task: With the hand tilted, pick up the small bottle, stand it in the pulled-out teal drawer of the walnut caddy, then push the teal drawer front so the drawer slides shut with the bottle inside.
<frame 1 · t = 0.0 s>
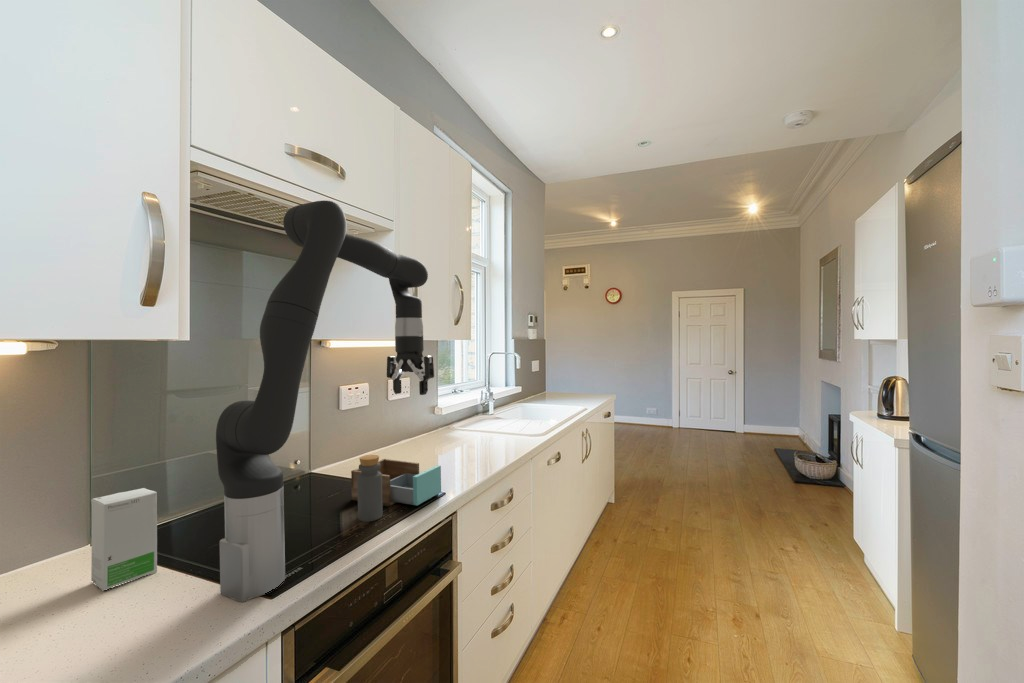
hand: (410, 394, 120), 29 cm above the counter, tool pointing down, fingers open, 8 cm apart
lid: (387, 479, 140), on the counter
housing: (386, 494, 125), on the counter
bottle: (370, 517, 109), on the counter
teal drawer: (411, 482, 121), point 5 cm above the counter, slide at 8.0 cm
skincare box: (125, 578, 83), on the counter
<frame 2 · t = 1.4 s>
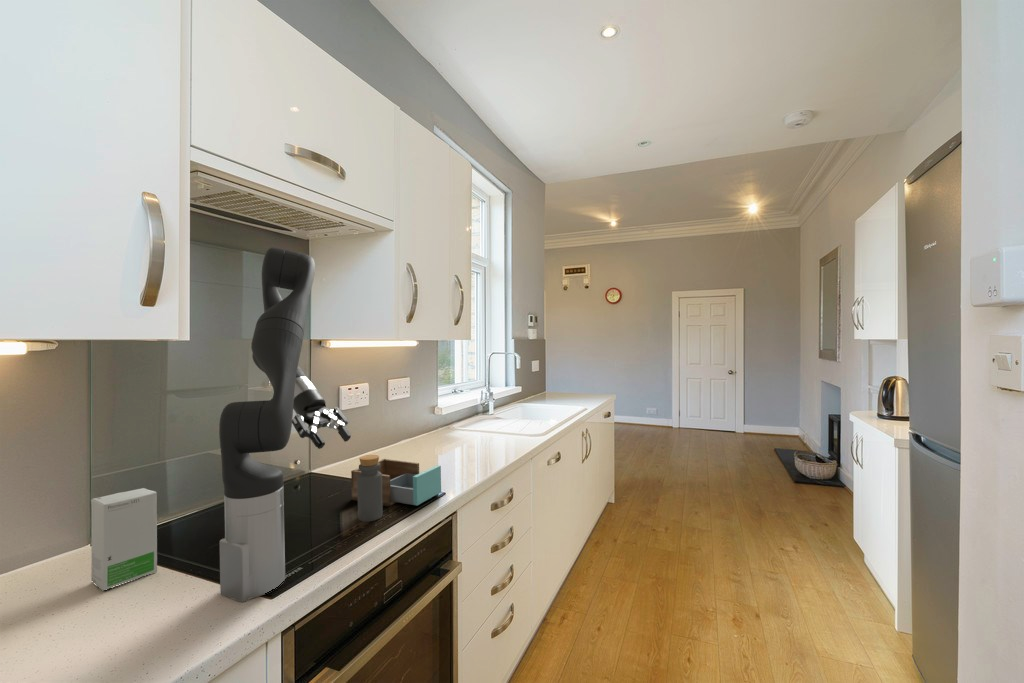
hand: (335, 442, 114), 18 cm above the counter, tool tilted 45°, fingers open, 8 cm apart
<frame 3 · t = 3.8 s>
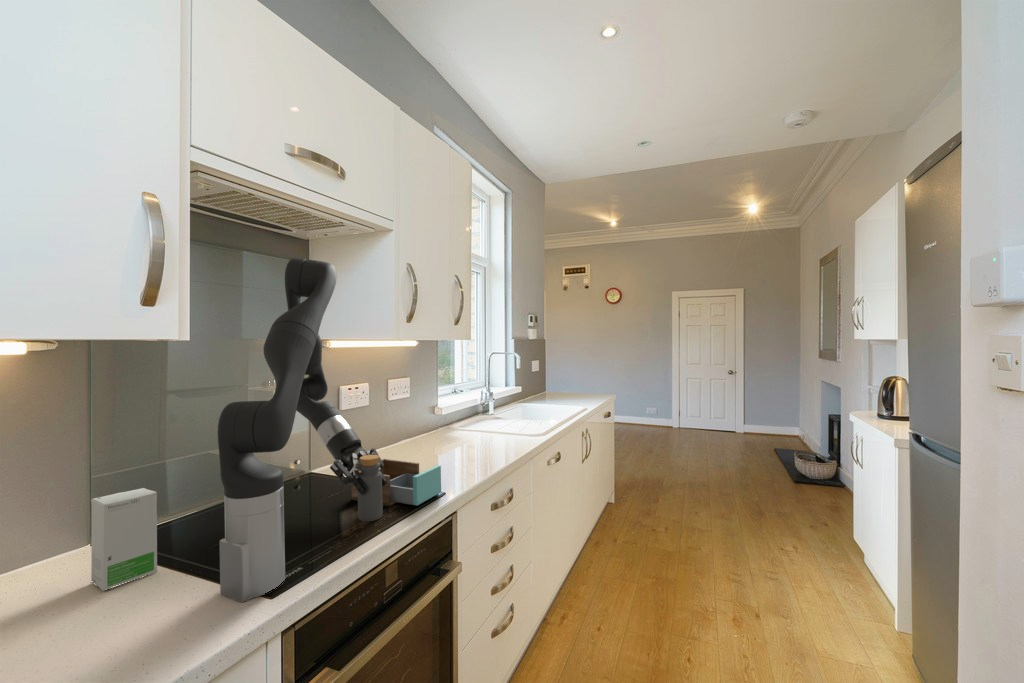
hand: (375, 488, 109), 7 cm above the counter, tool tilted 45°, fingers closed on bottle, 5 cm apart
bottle: (370, 517, 109), on the counter, touching gripper
when the fingers open (10 cm above the counter, at t = 8.7 s): bottle drops 1 cm, resting on teal drawer.
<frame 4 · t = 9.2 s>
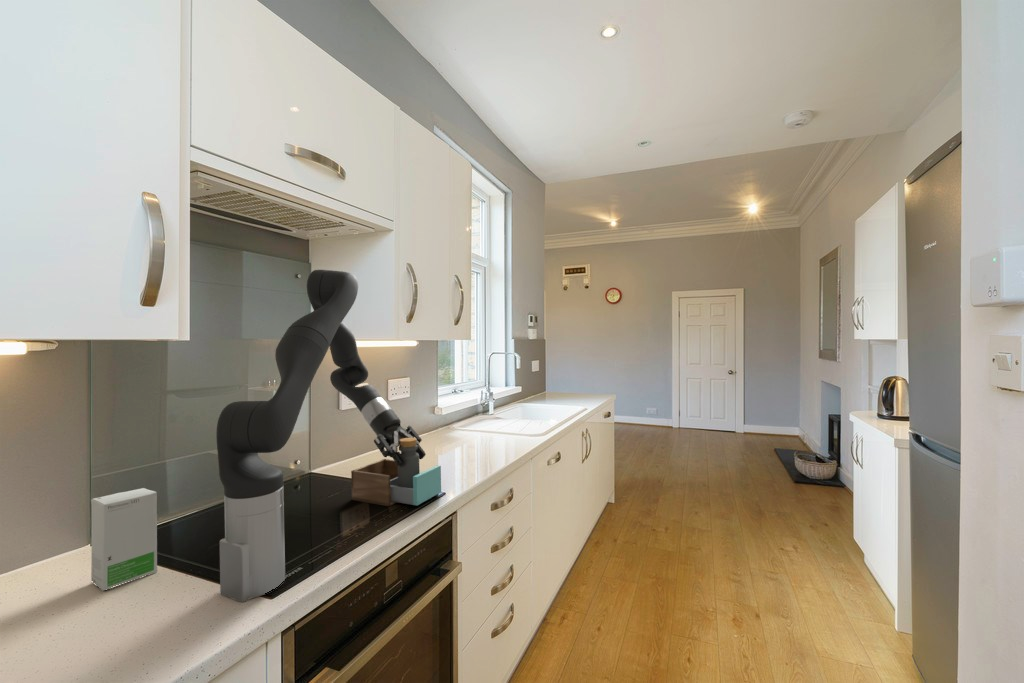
hand: (413, 461, 121), 11 cm above the counter, tool tilted 45°, fingers open, 8 cm apart
bottle: (409, 494, 121), point 1 cm above the counter, touching teal drawer
teal drawer: (411, 482, 121), point 5 cm above the counter, slide at 8.0 cm, touching bottle
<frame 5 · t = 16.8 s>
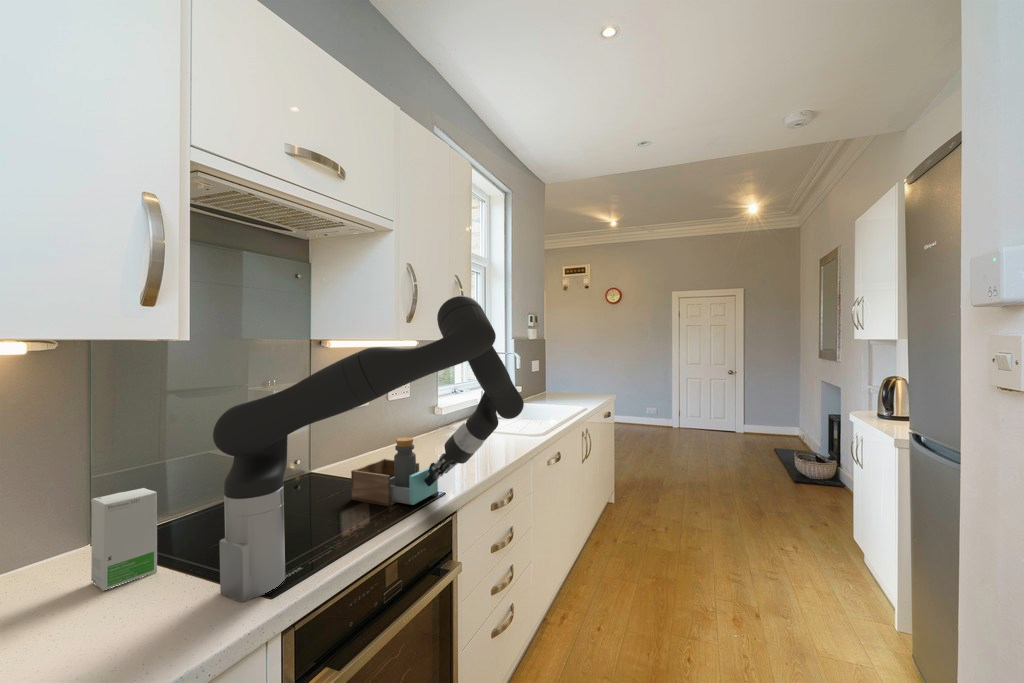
hand: (428, 482, 119), 5 cm above the counter, tool tilted 45°, fingers closed
lid: (381, 481, 138), on the counter, touching housing
bottle: (405, 493, 122), point 1 cm above the counter, touching teal drawer
teal drawer: (407, 481, 122), point 5 cm above the counter, slide at 6.8 cm, touching bottle
everything else where it was.
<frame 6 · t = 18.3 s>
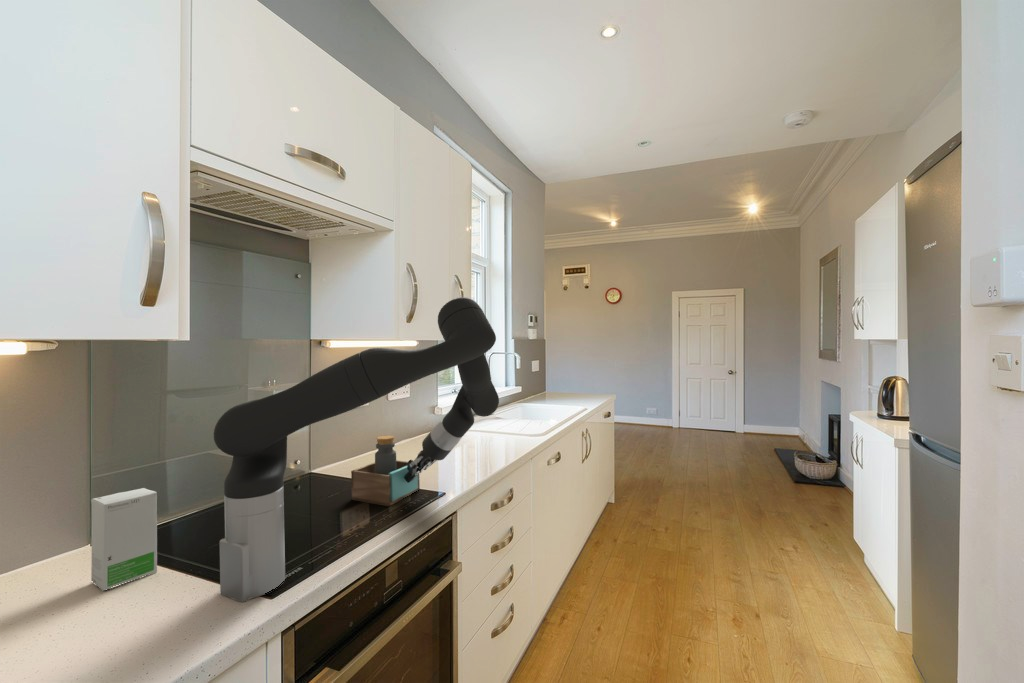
hand: (407, 479, 122), 5 cm above the counter, tool tilted 45°, fingers closed
lid: (380, 481, 138), on the counter
bottle: (386, 490, 125), point 1 cm above the counter, touching teal drawer
teal drawer: (388, 478, 125), point 5 cm above the counter, slide at -0.1 cm, touching bottle, gripper
everything else where it was.
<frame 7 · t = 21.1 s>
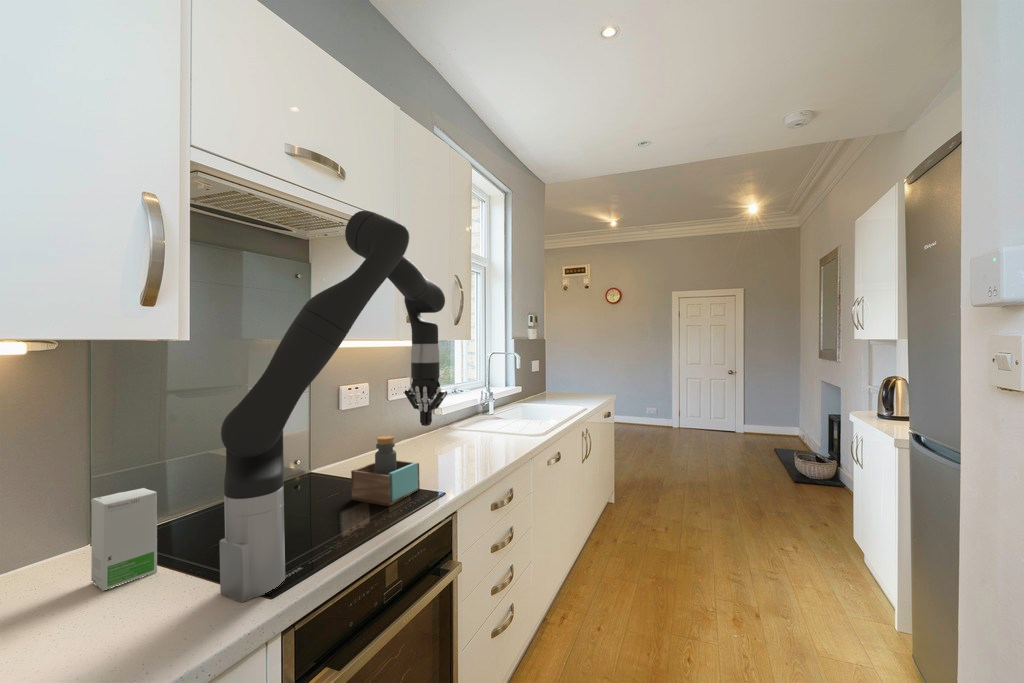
hand: (425, 425, 118), 21 cm above the counter, tool pointing down, fingers closed
teal drawer: (388, 478, 125), point 5 cm above the counter, slide at 0.0 cm, touching bottle
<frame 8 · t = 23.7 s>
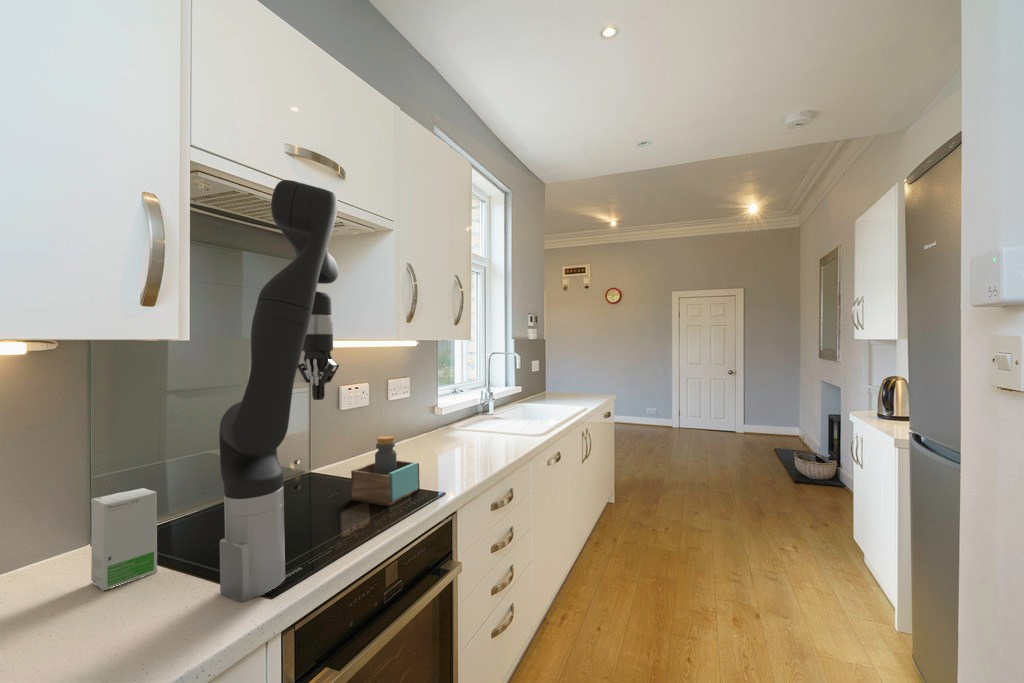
hand: (318, 399, 114), 29 cm above the counter, tool pointing down, fingers closed
at the end: teal drawer slide at 0.0 cm; bottle inside the target area on the housing (0.4 cm from its centre), point 1.4 cm above the housing's base; bottle tilted 0° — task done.
